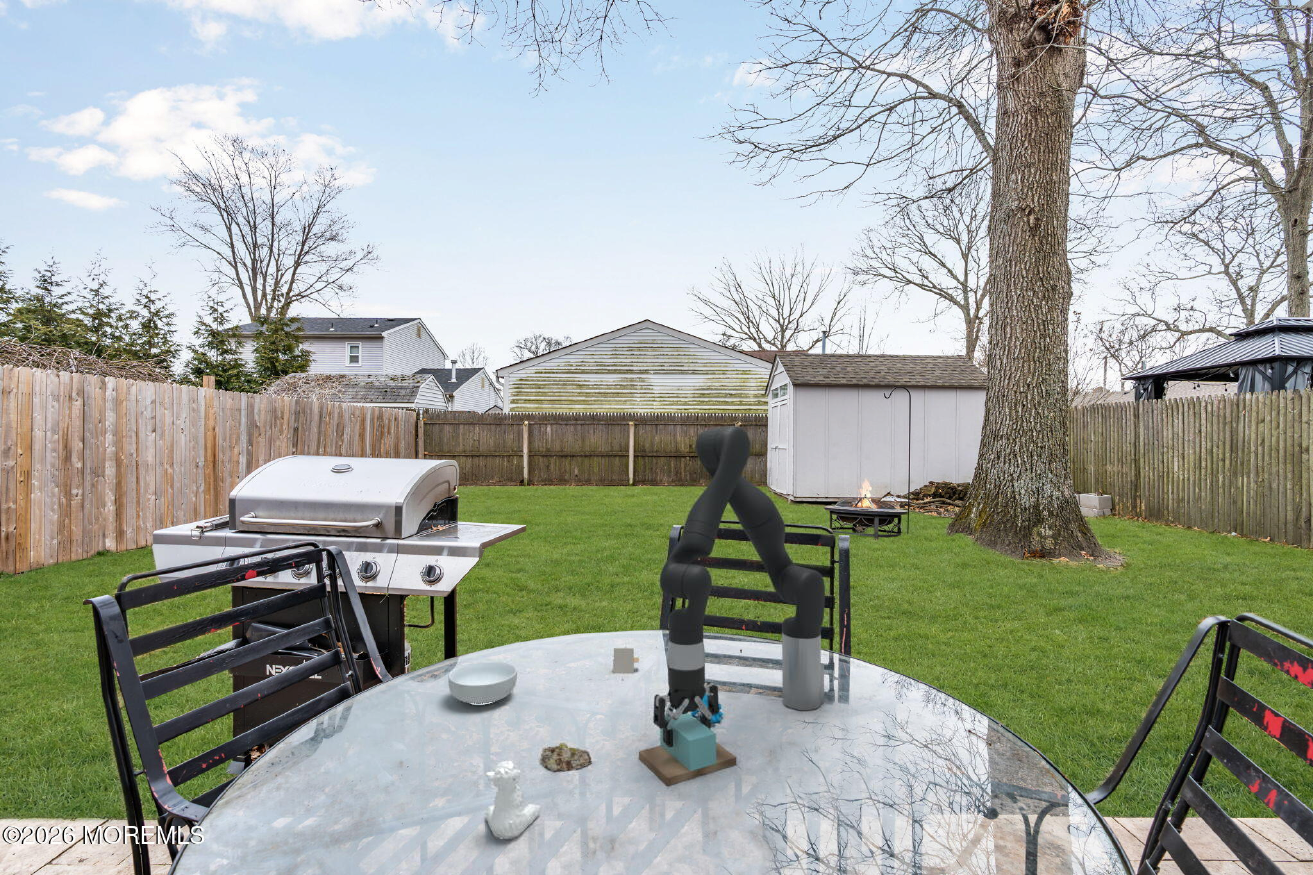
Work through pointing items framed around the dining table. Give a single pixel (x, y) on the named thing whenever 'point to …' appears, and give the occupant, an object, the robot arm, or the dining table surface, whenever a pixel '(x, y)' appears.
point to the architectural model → (624, 660)
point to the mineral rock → (564, 758)
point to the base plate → (677, 772)
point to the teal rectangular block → (692, 743)
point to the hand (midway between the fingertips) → (687, 740)
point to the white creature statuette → (508, 803)
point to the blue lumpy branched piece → (714, 718)
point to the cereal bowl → (482, 681)
